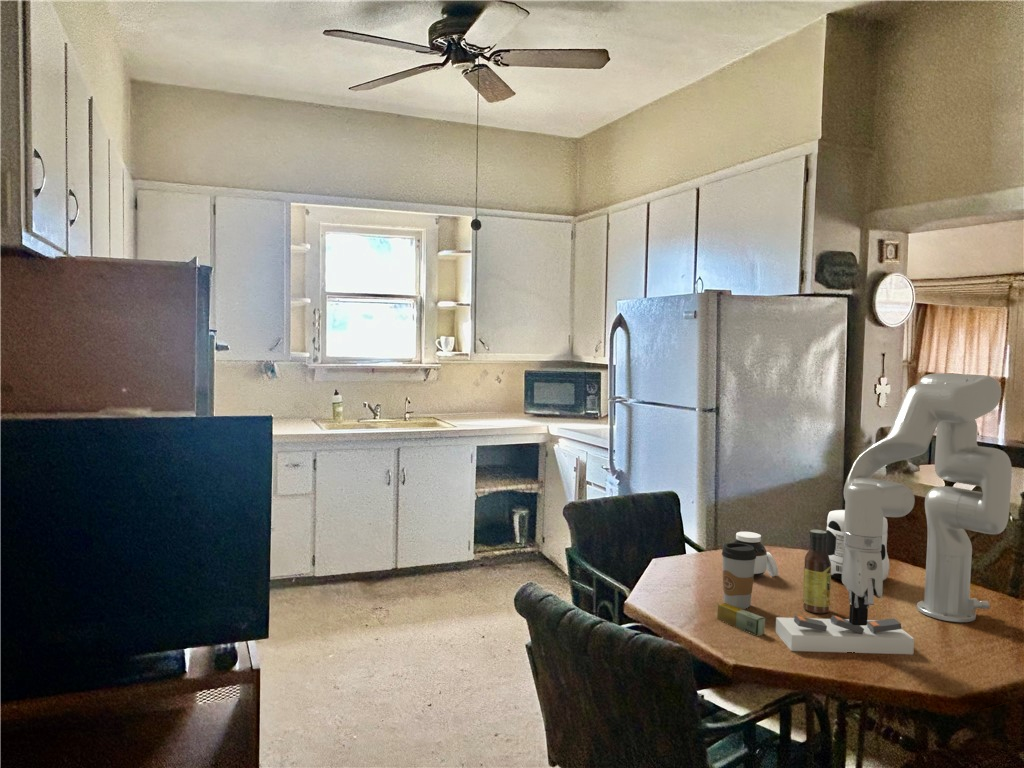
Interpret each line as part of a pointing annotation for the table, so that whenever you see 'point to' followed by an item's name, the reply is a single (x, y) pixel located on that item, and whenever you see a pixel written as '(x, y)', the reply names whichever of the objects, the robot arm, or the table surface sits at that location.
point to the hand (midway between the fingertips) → (857, 623)
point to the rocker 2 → (884, 625)
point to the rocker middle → (846, 624)
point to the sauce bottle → (817, 574)
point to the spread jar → (758, 553)
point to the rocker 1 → (810, 623)
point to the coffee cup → (738, 574)
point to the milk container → (837, 549)
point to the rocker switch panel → (842, 638)
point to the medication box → (741, 619)
